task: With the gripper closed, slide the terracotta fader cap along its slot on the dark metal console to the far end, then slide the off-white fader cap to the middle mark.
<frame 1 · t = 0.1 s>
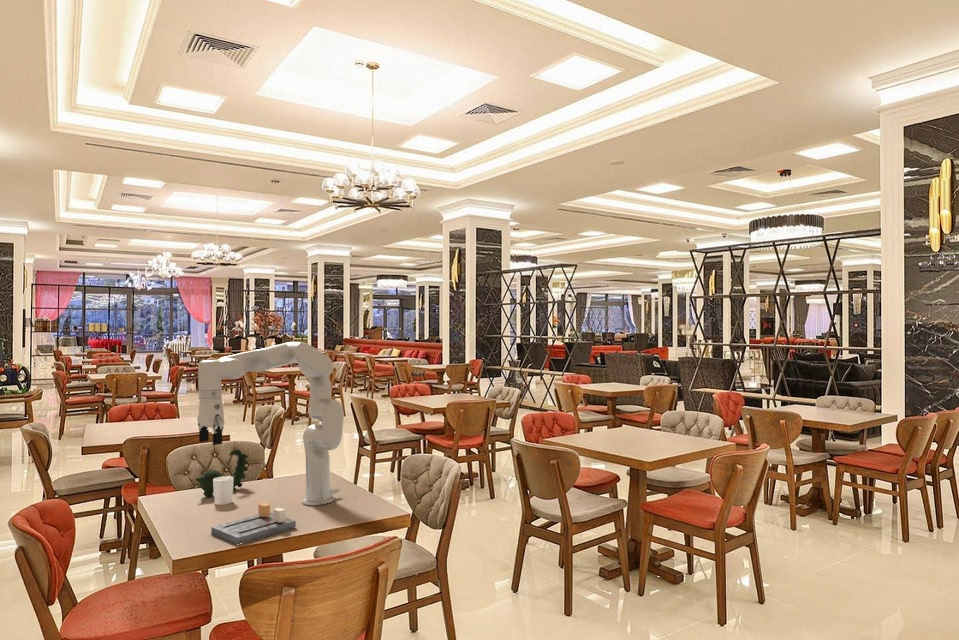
hand: (210, 442, 221), 31 cm above the table, tool pointing down, fingers open, 9 cm apart
toy figurine: (221, 493, 271), on the table
console: (254, 531, 219), on the table
white cup: (223, 503, 256), on the table
fader a: (264, 511, 228), point 4 cm above the table, slide at 0.0 cm
fader b: (279, 516, 222), point 4 cm above the table, slide at 0.0 cm
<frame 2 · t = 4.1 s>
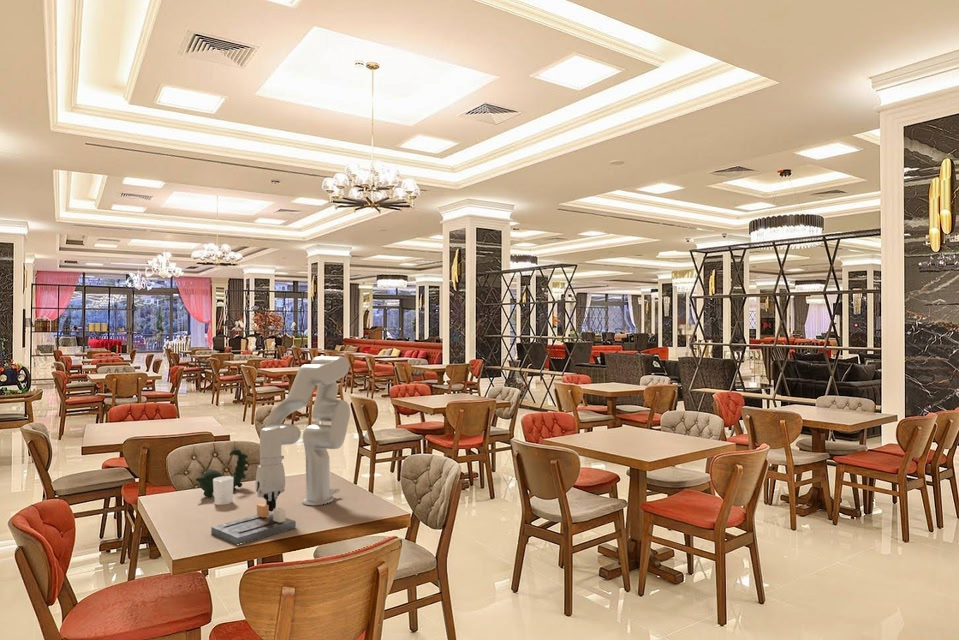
hand: (271, 510, 230), 4 cm above the table, tool pointing down, fingers closed
fader a: (262, 511, 228), point 4 cm above the table, slide at 0.6 cm, touching gripper
everything else where it was.
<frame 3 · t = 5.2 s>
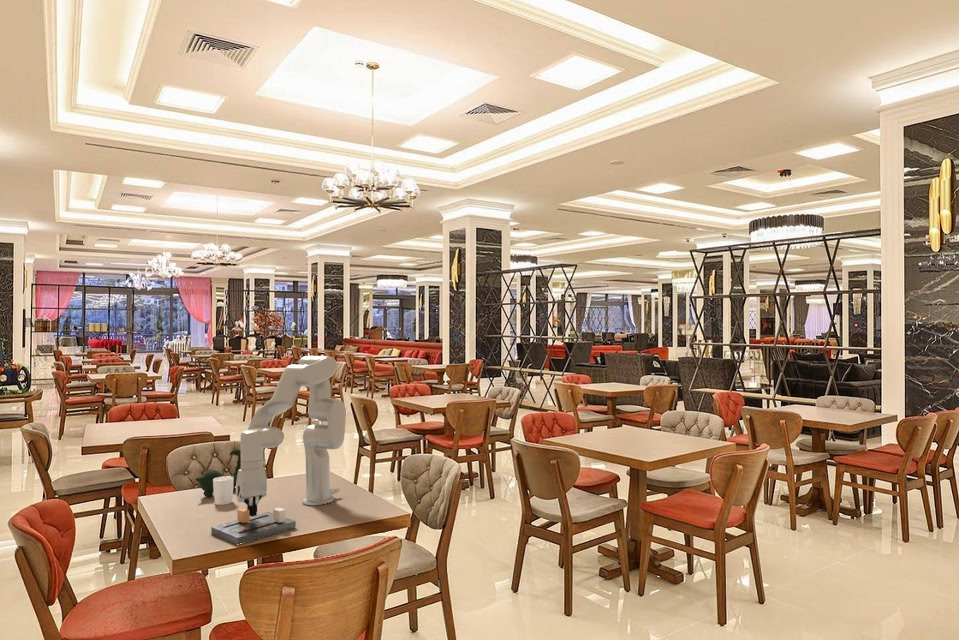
hand: (252, 515, 224), 4 cm above the table, tool pointing down, fingers closed
fader a: (243, 516, 222), point 4 cm above the table, slide at 8.2 cm, touching gripper
everything else where it was.
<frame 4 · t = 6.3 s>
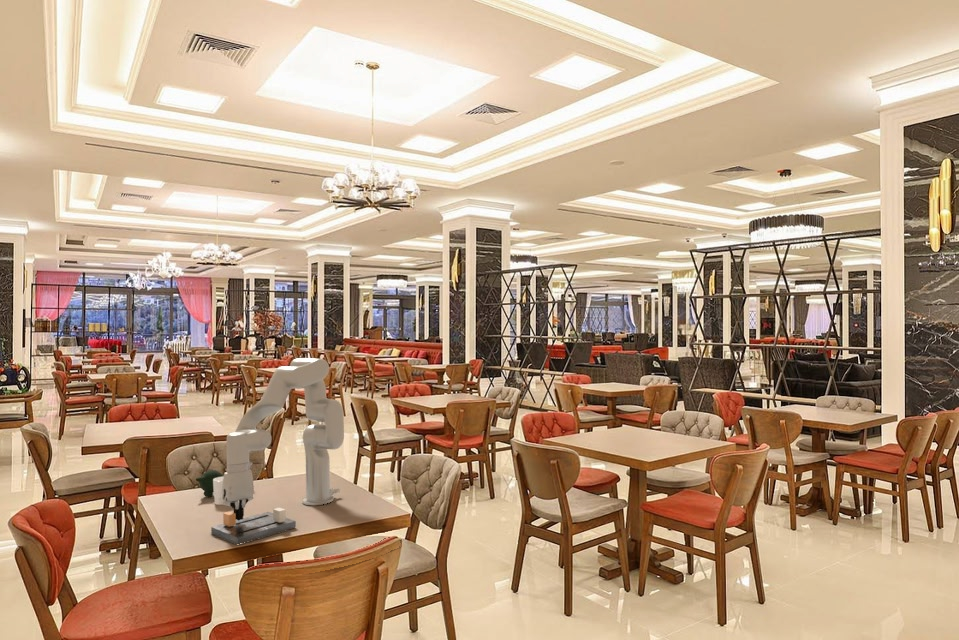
hand: (238, 519, 220), 4 cm above the table, tool pointing down, fingers closed
fader a: (229, 520, 218), point 4 cm above the table, slide at 13.4 cm, touching gripper
everything else where it was.
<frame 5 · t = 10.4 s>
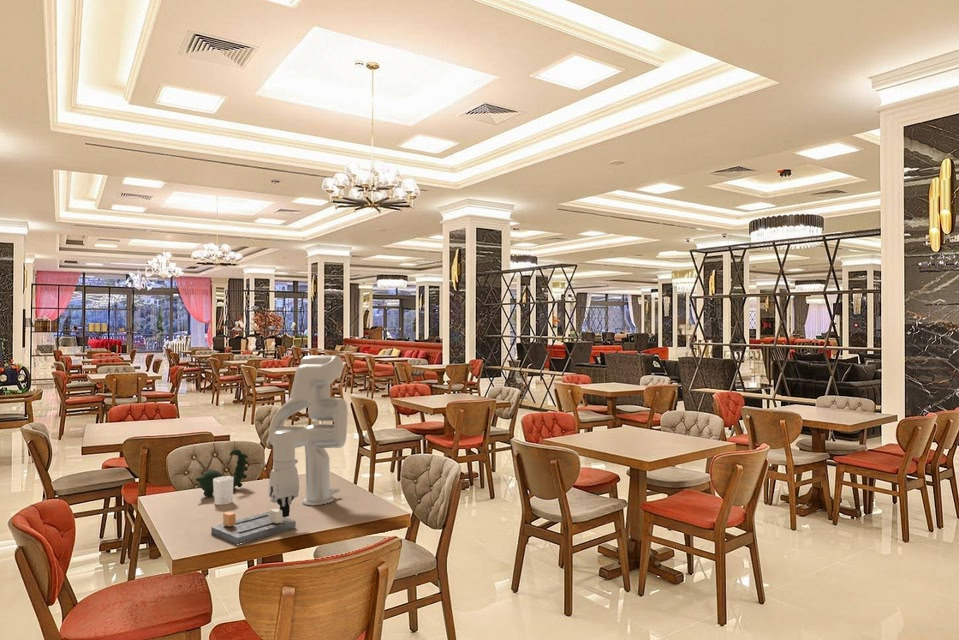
hand: (284, 516, 223), 4 cm above the table, tool pointing down, fingers closed
fader a: (229, 520, 218), point 4 cm above the table, slide at 13.5 cm
fader b: (276, 517, 221), point 4 cm above the table, slide at 1.2 cm, touching gripper
everything else where it was.
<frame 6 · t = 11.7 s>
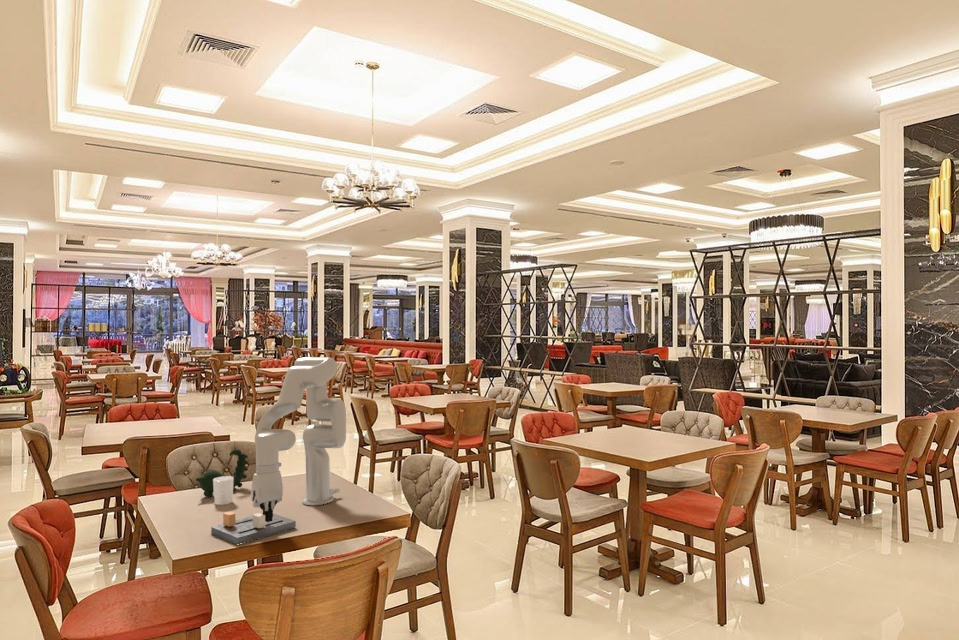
hand: (267, 520, 218), 4 cm above the table, tool pointing down, fingers closed
fader b: (258, 522, 215), point 4 cm above the table, slide at 8.0 cm, touching gripper
everything else where it was.
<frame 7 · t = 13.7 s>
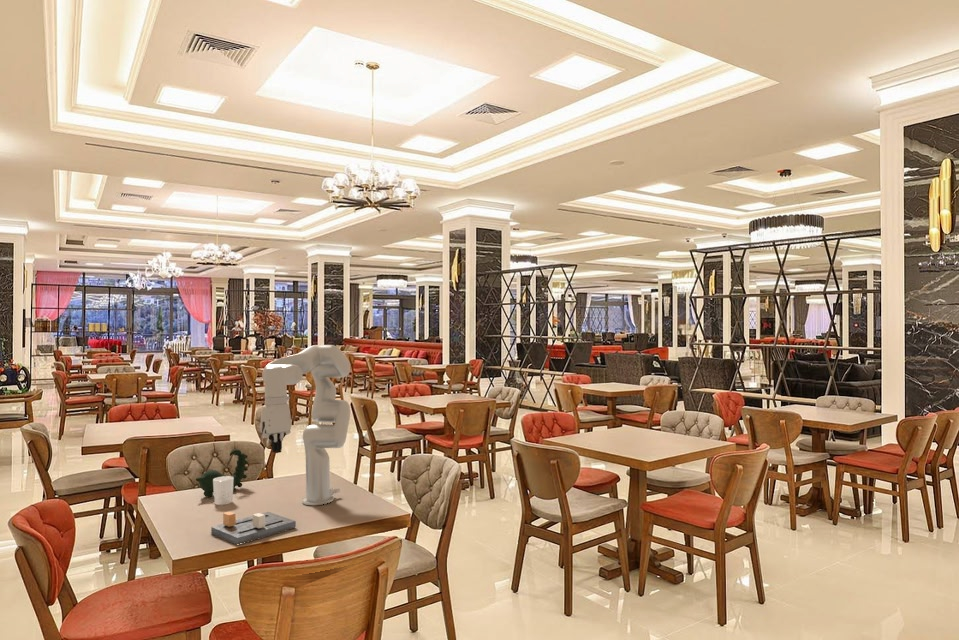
hand: (277, 452, 222), 27 cm above the table, tool pointing down, fingers closed
fader b: (258, 522, 215), point 4 cm above the table, slide at 8.0 cm
everything else where it was.
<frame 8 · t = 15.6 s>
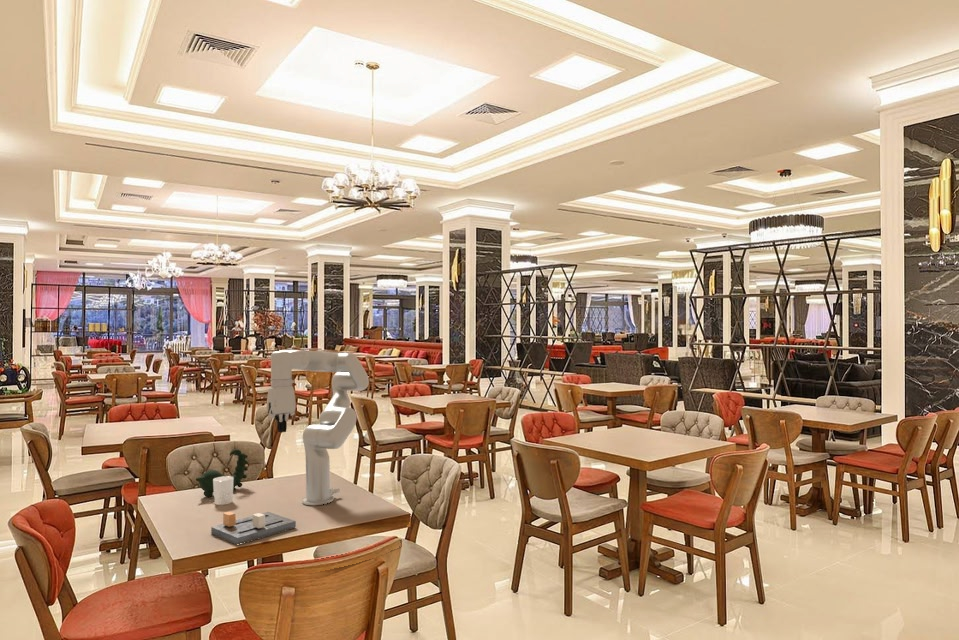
hand: (282, 431, 236), 32 cm above the table, tool pointing down, fingers closed
nothing on the table moved.
at the end: fader a slide at 13.5 cm; fader b slide at 8.0 cm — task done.
